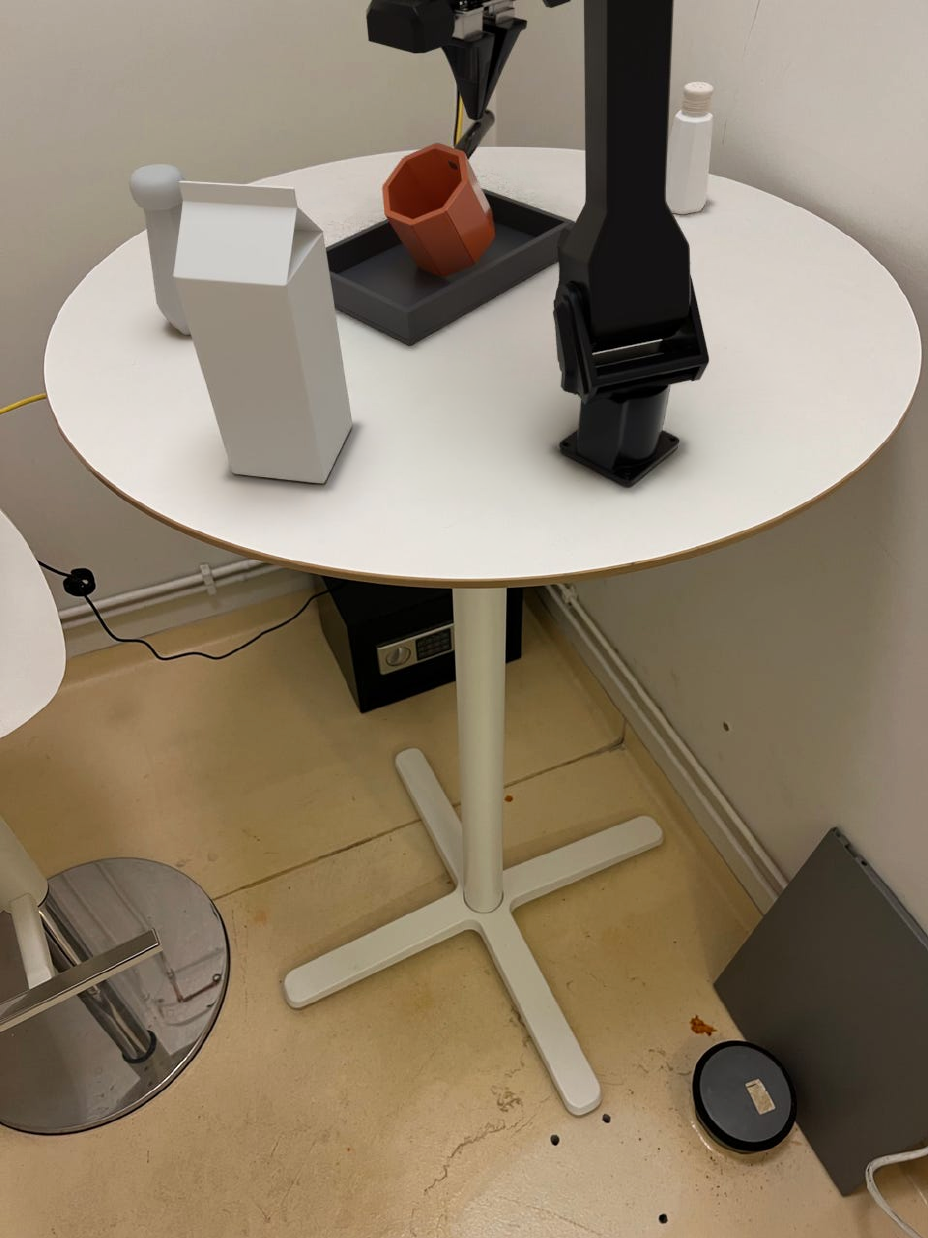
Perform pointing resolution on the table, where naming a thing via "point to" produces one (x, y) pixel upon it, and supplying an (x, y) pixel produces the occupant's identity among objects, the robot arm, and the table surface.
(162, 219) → the salt shaker
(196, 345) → the milk carton
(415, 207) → the pot
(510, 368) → the table surface
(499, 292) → the black tray
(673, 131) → the pepper shaker
